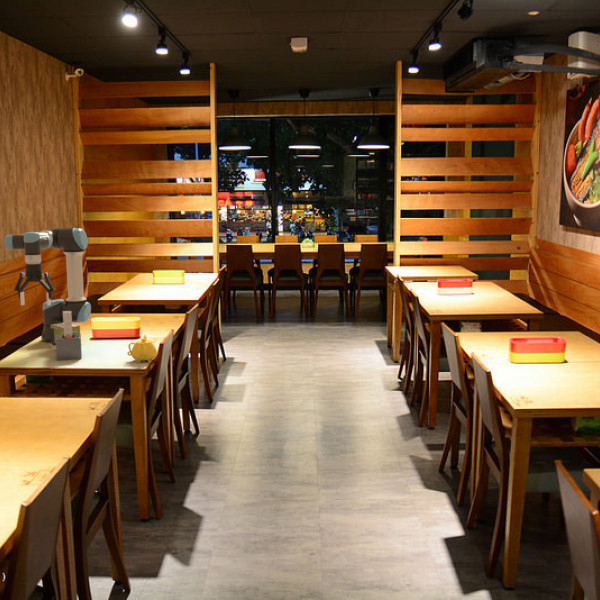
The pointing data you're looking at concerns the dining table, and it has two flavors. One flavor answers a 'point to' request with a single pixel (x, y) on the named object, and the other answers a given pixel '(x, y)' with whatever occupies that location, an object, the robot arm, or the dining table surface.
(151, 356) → the teapot
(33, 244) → the robot arm
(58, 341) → the stand base
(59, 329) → the tea box
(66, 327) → the column
